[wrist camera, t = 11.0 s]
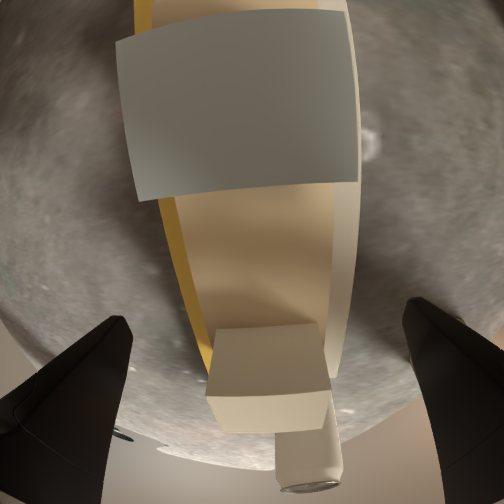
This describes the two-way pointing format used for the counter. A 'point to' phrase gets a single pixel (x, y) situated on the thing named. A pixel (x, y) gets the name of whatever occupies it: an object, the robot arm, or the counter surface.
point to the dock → (342, 231)
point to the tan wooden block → (256, 229)
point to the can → (309, 457)
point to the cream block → (268, 379)
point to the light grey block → (239, 102)
